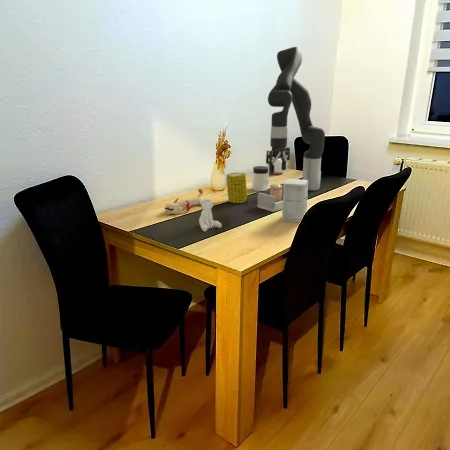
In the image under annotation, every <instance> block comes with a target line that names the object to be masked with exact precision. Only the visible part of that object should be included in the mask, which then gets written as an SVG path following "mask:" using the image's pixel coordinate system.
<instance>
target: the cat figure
mask: <svg viewBox="0 0 450 450" xmlns="http://www.w3.org/2000/svg"><path fill="white" fill-rule="evenodd" d="M197 191H198V193H199V194H198V195H197V196H196V197H188V198H184V199H181V200H180V197H178V198H176V199H175V200H174V201H173V202H168V203H166V205H165V207H164V210H165V211H164V213H166V215H173V214H174V215H175V214H177V215H178V214H181V212H183V210H184V208H185V207H186V211H188V212H190V210H191V206H195V205H196V206H198V205H201V204H200V203H199V201H203V200H204V199H205V198H203V199H202V198H201V197H202V196H203V194H204V191H203V190H202V188H199V189H198V190H197Z"/></svg>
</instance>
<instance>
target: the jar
mask: <svg viewBox="0 0 450 450" xmlns="http://www.w3.org/2000/svg"><path fill="white" fill-rule="evenodd" d="M252 169H253V170H252V175H251V176H252V179H251V181H252V182H251V184H252V186H251V188H252V190H254V191H256V192H257V191H258V192H265V191H268V190H269V187H270V185H269V181H270V180H269V179H270V172H269V170H268V167H267V166H266V165H265V166H263V165H260V166H259V165H256V166H253V168H252Z"/></svg>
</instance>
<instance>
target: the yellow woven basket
mask: <svg viewBox="0 0 450 450" xmlns="http://www.w3.org/2000/svg"><path fill="white" fill-rule="evenodd" d="M226 188H227V189H226V191H227V197H228V200H227V201H228V202H229V203H233V204H240V205H241V204H243V203H245V202H247V199H248V194H247V193H248V192H247V191H248V189H247V177H246V173H245V172H229V173H226Z"/></svg>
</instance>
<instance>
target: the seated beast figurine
mask: <svg viewBox="0 0 450 450" xmlns="http://www.w3.org/2000/svg"><path fill="white" fill-rule="evenodd" d="M203 199H204V200H203ZM203 199H202V200H203V201H199V203H200V204H199V205H201V207H202V211H201V213H200V216H199V219H198V222H199V223H198V224H199V226H200V229H201V230H202V231H203V232H207V230H209V228H210V229H214V227H215V228H219V229H221V228H222V226H223V224H222V223H221V222H220V221H219V220H214V219H213V212H212V208H213V207H214V205H213V200H212V199H210V198H203ZM212 227H213V228H212Z"/></svg>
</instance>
